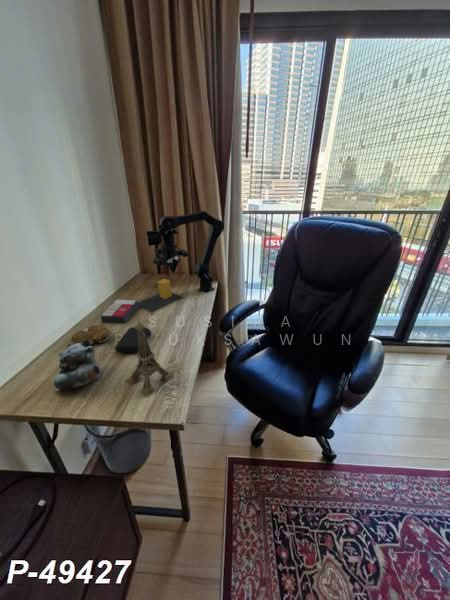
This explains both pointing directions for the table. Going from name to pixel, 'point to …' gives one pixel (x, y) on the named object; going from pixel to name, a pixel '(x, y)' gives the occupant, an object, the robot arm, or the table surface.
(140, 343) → the eiffel tower
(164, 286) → the block
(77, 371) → the grey lumpy figure
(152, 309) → the mat
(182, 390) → the table surface
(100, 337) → the decorative rock
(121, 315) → the red and white box
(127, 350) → the carrying case
